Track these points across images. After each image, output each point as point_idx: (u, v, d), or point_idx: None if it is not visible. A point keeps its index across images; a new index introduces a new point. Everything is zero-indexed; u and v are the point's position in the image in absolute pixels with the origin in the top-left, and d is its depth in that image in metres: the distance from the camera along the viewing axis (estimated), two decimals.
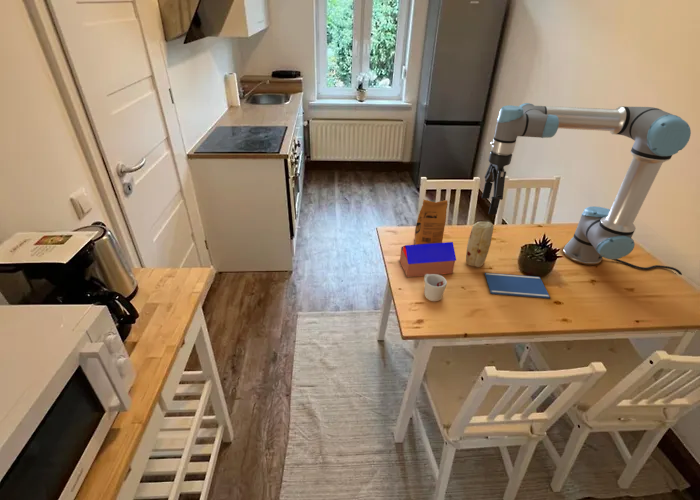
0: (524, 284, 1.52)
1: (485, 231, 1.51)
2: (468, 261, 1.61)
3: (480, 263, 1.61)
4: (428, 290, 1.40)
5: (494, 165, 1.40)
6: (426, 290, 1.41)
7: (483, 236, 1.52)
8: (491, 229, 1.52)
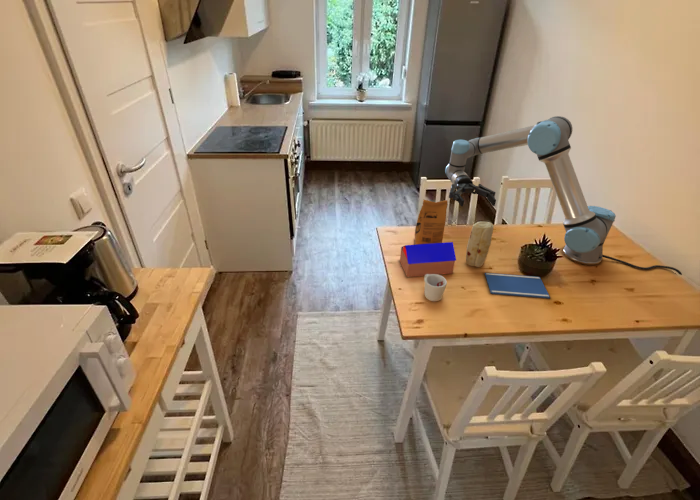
0: (524, 284, 1.52)
1: (485, 231, 1.51)
2: (468, 261, 1.61)
3: (480, 263, 1.61)
4: (428, 290, 1.40)
5: None
6: (426, 290, 1.41)
7: (483, 236, 1.52)
8: (491, 229, 1.52)
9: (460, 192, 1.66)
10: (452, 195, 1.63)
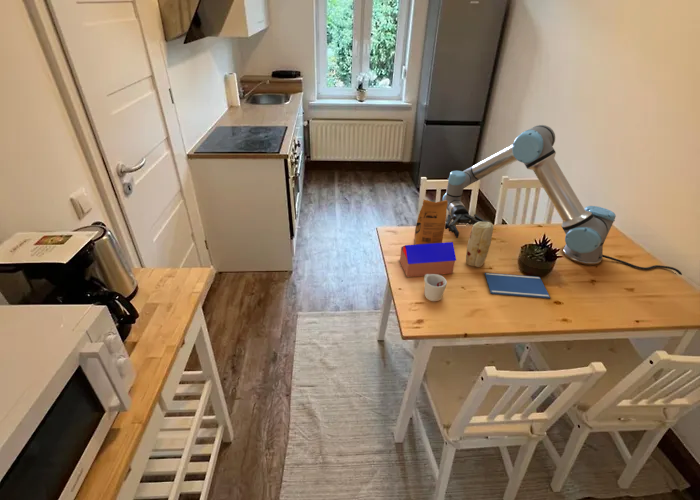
0: (524, 284, 1.52)
1: (485, 231, 1.51)
2: (468, 261, 1.61)
3: (480, 263, 1.61)
4: (428, 290, 1.40)
5: None
6: (426, 290, 1.41)
7: (483, 236, 1.52)
8: (491, 229, 1.52)
9: (456, 223, 1.72)
10: (448, 226, 1.69)
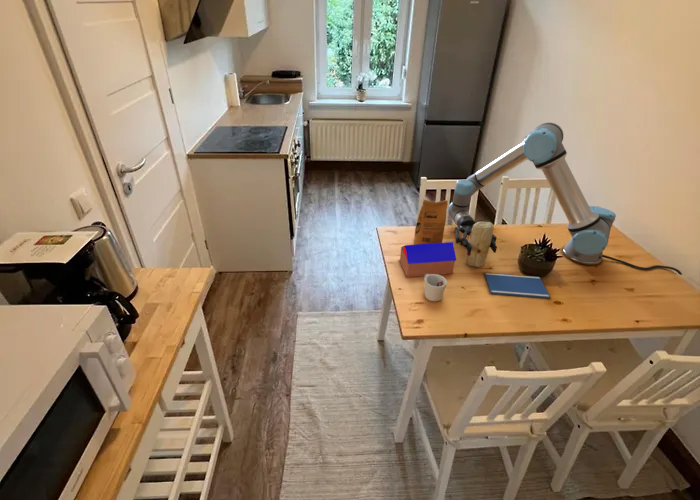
0: (524, 284, 1.52)
1: (485, 231, 1.51)
2: (468, 261, 1.61)
3: (480, 263, 1.61)
4: (428, 290, 1.40)
5: None
6: (426, 290, 1.41)
7: (483, 236, 1.52)
8: (491, 229, 1.52)
9: (466, 236, 1.64)
10: (459, 240, 1.60)
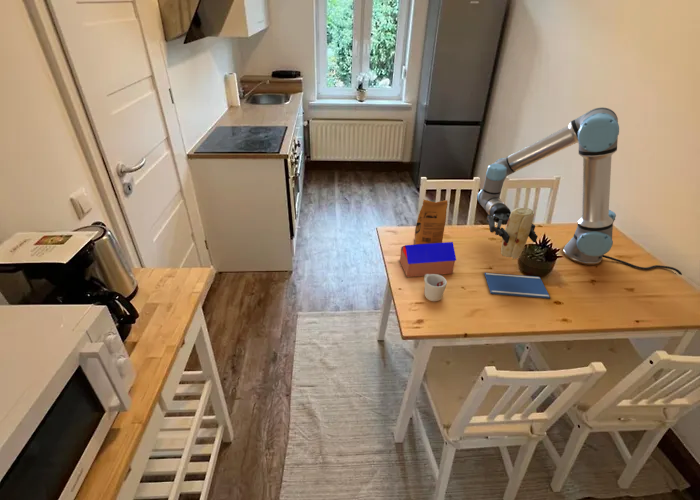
0: (524, 284, 1.52)
1: (525, 218, 1.36)
2: (504, 252, 1.46)
3: (518, 255, 1.45)
4: (428, 290, 1.40)
5: None
6: (426, 290, 1.41)
7: (523, 224, 1.37)
8: (532, 216, 1.37)
9: None
10: (495, 229, 1.45)
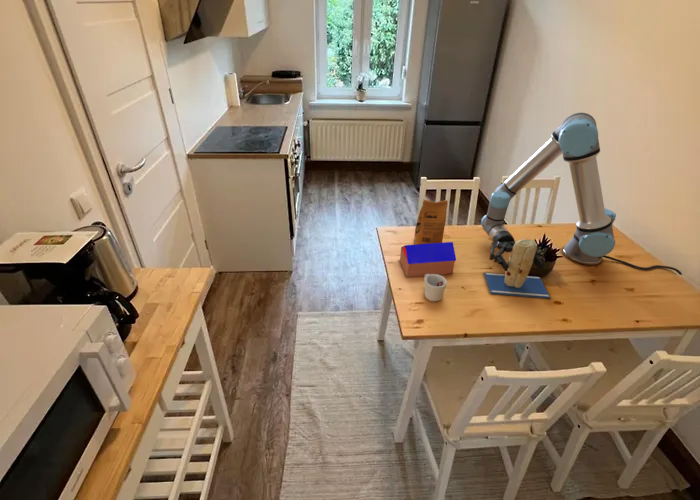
0: (524, 284, 1.52)
1: (528, 250, 1.39)
2: (507, 281, 1.49)
3: (521, 284, 1.48)
4: (428, 290, 1.40)
5: None
6: (426, 290, 1.41)
7: (526, 255, 1.40)
8: (535, 248, 1.40)
9: (502, 252, 1.52)
10: (494, 257, 1.48)
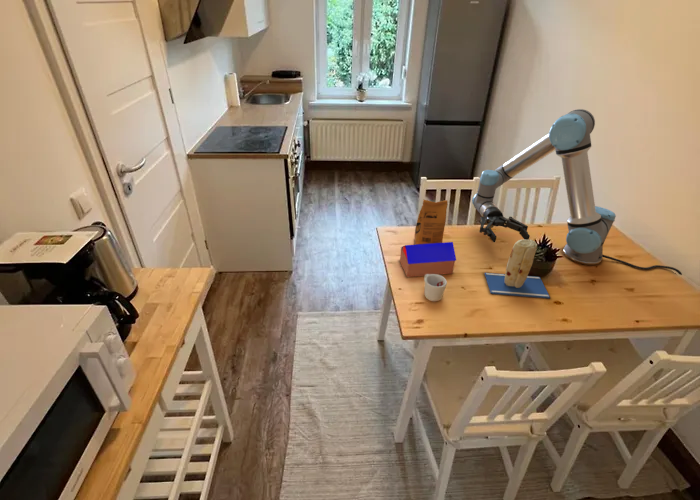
0: (524, 284, 1.52)
1: (528, 250, 1.39)
2: (507, 281, 1.49)
3: (521, 284, 1.48)
4: (428, 290, 1.40)
5: None
6: (426, 290, 1.41)
7: (526, 255, 1.40)
8: (535, 248, 1.40)
9: (491, 226, 1.60)
10: (483, 230, 1.57)
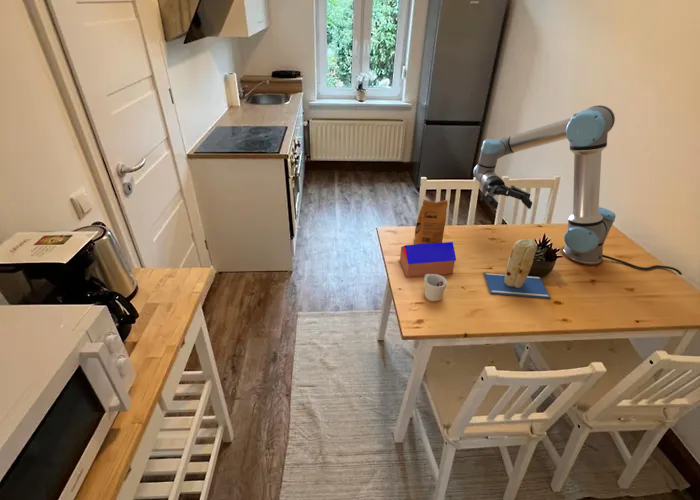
0: (524, 284, 1.52)
1: (528, 250, 1.39)
2: (507, 281, 1.49)
3: (521, 284, 1.48)
4: (428, 290, 1.40)
5: None
6: (426, 290, 1.41)
7: (526, 255, 1.40)
8: (535, 248, 1.40)
9: (492, 194, 1.57)
10: (484, 197, 1.53)
